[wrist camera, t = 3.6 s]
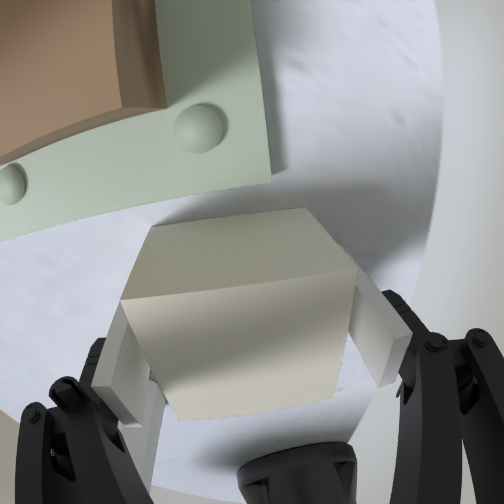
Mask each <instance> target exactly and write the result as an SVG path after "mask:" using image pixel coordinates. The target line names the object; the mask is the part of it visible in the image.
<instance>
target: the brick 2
mask: <svg viewBox="0 0 504 504" xmlns="http://www.w3.org/2000/svg"><path fill="white" fill-rule="evenodd" d="M356 276H357V267H356V266H355V264H354V263H353V262H352V261H351V260H350V258H349V257H348V256H347V255H346V253H345V252H344V251H343V250H342V249H341V247H340V246H339V245H338V244H337V243H336V242H335V240H334V239H333V238H332V237H331V236H330V234H329V233H328V232H327V231H326V230H325V229H324V227H323V226H322V225H321V224H320V223H319V222H318V221H317V219H316V218H315V217H314V216H313V215H312V214H311V213H310V212H309V210H308V209H307V208H306V207H304V208H294V209H284V210H275V211H266V212H258V213H249V214H241V215H233V216H225V217H217V218H210V219H202V220H195V221H188V222H181V223H174V224H167V225H161V226H154V227H151V228H150V230H149V232H148V234H147V237H146V239H145V241H144V243H143V246H142V248H141V250H140V252H139V255H138V257H137V259H136V262H135V264H134V266H133V269H132V271H131V273H130V276H129V278H128V281H127V283H126V286H125V288H124V291H123V293H122V296H121V298H120V302H121V304H122V307H123V309H124V312H125V314H126V317H127V319H128V321H129V324H130V326H131V328H132V331H133V333H134V335H135V337H136V339H137V342H138V344H139V346H140V348H141V350H142V352H143V354H144V357H145V359H146V361H147V363H148V365H149V367H150V369H151V371H152V373H153V375H154V377H155V378H156V380H157V382H158V384H159V386H160V388H161V390H162V392H163V393H164V395H165V397H166V399H167V401H168V402H169V404H170V406H171V408H172V409H173V411H174V413H175V415H176V416H177V418H178V420H179V421H180V420H198V419H212V418H222V417H232V416H240V415H248V414H255V413H262V412H268V411H274V410H280V409H285V408H290V407H295V406H300V405H305V404H310V403H314V402H318V401H323V400H327V399H331V398H333V396H334V392H335V388H336V384H337V379H338V375H339V371H340V366H341V362H342V357H343V352H344V348H345V343H346V337H347V332H348V327H349V321H350V315H351V309H352V303H353V297H354V290H355V283H356Z"/></svg>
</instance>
